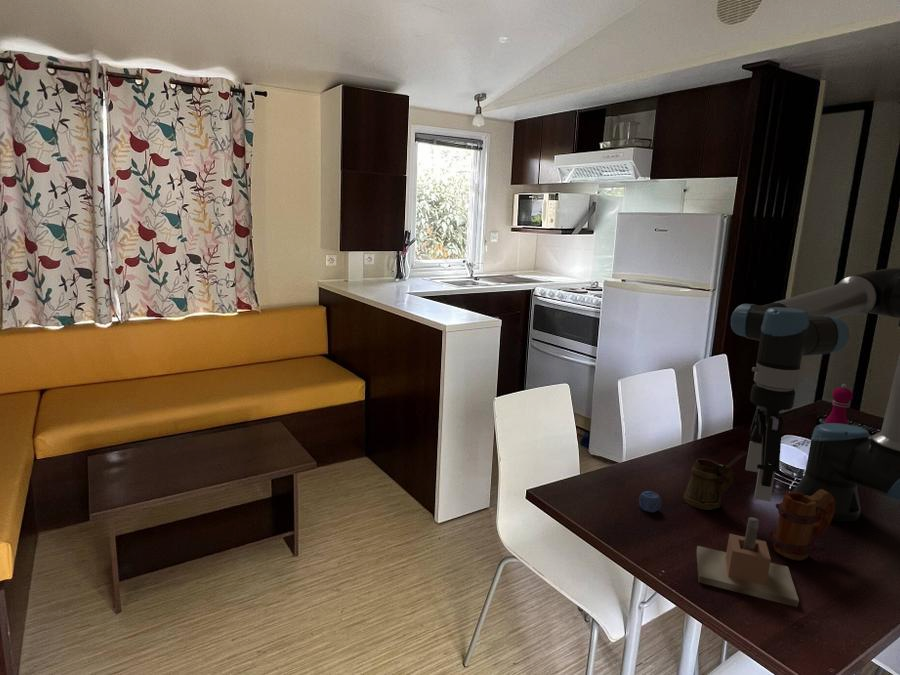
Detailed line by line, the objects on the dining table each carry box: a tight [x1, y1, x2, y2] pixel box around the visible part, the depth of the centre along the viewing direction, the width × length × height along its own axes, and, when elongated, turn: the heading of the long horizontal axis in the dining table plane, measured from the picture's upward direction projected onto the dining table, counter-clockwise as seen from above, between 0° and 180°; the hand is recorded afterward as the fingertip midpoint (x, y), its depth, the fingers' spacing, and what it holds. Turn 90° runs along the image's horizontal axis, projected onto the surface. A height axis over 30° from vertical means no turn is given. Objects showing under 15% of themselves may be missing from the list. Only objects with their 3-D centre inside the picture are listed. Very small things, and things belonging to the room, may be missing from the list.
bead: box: [725, 533, 772, 586], centre depth 118 cm, size 7×7×6 cm
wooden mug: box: [682, 450, 748, 511], centre depth 147 cm, size 9×14×18 cm, turn 41°
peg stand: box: [696, 516, 800, 608], centre depth 118 cm, size 18×12×14 cm, turn 69°
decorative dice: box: [638, 490, 662, 513], centre depth 146 cm, size 4×4×4 cm
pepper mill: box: [824, 383, 854, 425], centre depth 201 cm, size 7×7×20 cm
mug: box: [769, 489, 835, 561], centre depth 128 cm, size 15×8×15 cm, turn 106°
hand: (757, 484), depth 116 cm, fingers open, 13 cm apart
